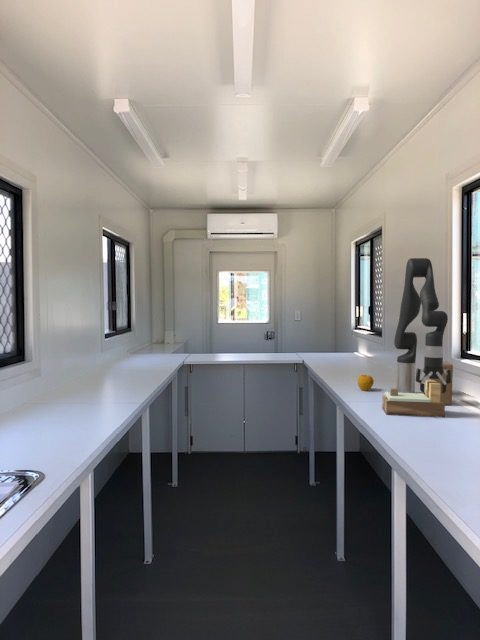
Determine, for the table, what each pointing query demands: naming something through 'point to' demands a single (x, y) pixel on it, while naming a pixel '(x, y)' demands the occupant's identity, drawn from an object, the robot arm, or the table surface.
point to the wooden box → (413, 408)
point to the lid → (406, 396)
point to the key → (433, 390)
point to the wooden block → (447, 395)
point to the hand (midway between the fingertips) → (432, 392)
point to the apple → (365, 382)
